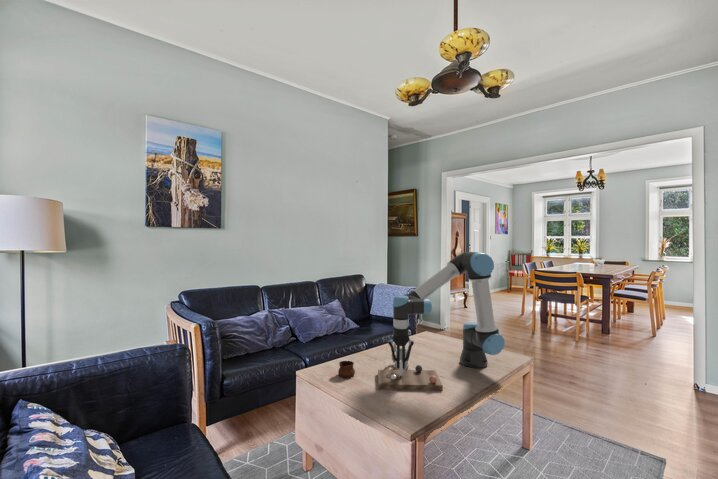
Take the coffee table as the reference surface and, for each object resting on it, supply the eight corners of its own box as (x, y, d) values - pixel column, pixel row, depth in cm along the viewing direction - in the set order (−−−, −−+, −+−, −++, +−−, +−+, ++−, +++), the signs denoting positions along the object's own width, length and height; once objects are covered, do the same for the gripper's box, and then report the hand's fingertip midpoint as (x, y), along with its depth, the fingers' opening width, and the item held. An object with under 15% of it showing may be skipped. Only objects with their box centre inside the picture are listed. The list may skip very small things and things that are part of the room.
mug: (401, 371, 184) (401, 349, 184) (386, 365, 193) (387, 343, 193) (411, 368, 188) (411, 346, 188) (397, 362, 198) (397, 341, 198)
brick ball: (436, 381, 165) (436, 374, 165) (437, 384, 162) (437, 377, 162) (428, 381, 166) (428, 374, 165) (430, 384, 162) (430, 377, 162)
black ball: (421, 370, 179) (421, 364, 179) (422, 373, 175) (422, 366, 175) (414, 370, 179) (414, 364, 179) (415, 373, 175) (415, 366, 175)
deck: (435, 375, 179) (435, 370, 179) (442, 390, 161) (442, 385, 161) (377, 374, 180) (377, 369, 180) (378, 389, 162) (378, 384, 162)
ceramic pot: (330, 384, 168) (331, 369, 169) (327, 370, 186) (328, 357, 186) (366, 382, 172) (367, 368, 172) (360, 369, 189) (360, 356, 189)
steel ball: (388, 376, 173) (392, 382, 172) (388, 378, 169) (392, 384, 169) (394, 372, 173) (398, 378, 172) (394, 374, 169) (398, 380, 169)
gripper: (413, 325, 174) (413, 371, 174) (387, 325, 175) (387, 371, 175) (415, 329, 167) (414, 377, 167) (388, 329, 167) (388, 377, 167)
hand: (400, 374), depth 171 cm, fingers closed
